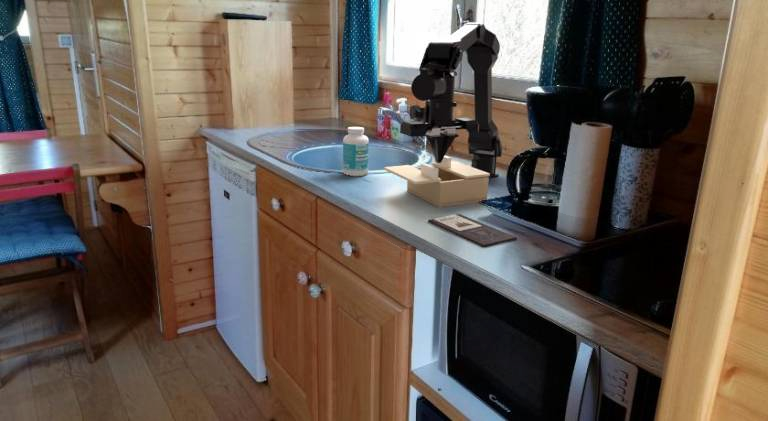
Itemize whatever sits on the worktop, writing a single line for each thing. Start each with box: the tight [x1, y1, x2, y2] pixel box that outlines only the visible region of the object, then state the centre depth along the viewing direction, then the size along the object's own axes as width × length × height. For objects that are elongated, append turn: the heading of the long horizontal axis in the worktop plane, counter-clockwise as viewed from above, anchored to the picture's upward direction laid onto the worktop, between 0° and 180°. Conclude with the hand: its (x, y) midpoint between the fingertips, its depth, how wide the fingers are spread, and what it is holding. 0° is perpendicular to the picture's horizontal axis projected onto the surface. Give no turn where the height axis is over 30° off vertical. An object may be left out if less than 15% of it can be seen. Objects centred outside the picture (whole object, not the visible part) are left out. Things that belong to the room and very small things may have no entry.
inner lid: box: [430, 155, 490, 179], centre depth 148 cm, size 7×16×3 cm, turn 27°
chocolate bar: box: [427, 213, 518, 248], centre depth 123 cm, size 9×1×18 cm
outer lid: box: [383, 162, 441, 184], centre depth 141 cm, size 7×16×3 cm, turn 27°
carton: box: [406, 166, 490, 208], centre depth 147 cm, size 14×16×6 cm
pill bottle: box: [342, 126, 370, 177], centre depth 167 cm, size 8×7×14 cm
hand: (438, 162), depth 139 cm, fingers closed
